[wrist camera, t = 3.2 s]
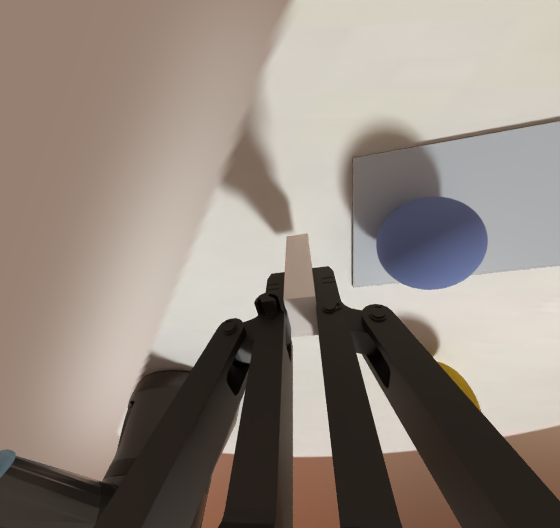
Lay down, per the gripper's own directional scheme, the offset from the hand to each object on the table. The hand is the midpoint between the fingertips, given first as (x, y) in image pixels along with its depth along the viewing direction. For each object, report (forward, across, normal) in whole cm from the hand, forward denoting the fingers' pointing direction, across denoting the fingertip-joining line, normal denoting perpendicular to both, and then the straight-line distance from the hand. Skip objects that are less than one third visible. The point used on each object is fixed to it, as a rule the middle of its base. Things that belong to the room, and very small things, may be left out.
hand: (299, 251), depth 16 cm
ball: (-1, -8, 0) cm, 8 cm away
